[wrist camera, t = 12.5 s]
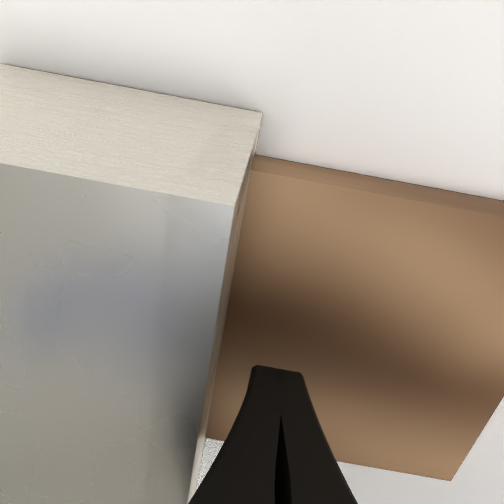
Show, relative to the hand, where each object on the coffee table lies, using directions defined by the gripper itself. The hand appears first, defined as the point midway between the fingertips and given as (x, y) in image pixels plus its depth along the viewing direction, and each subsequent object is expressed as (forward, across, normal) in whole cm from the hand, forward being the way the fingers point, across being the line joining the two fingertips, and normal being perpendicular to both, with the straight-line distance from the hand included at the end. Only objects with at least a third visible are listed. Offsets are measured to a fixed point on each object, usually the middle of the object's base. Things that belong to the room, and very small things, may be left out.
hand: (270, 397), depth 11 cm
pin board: (+4, 0, 0) cm, 4 cm away
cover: (+4, +5, 0) cm, 6 cm away
